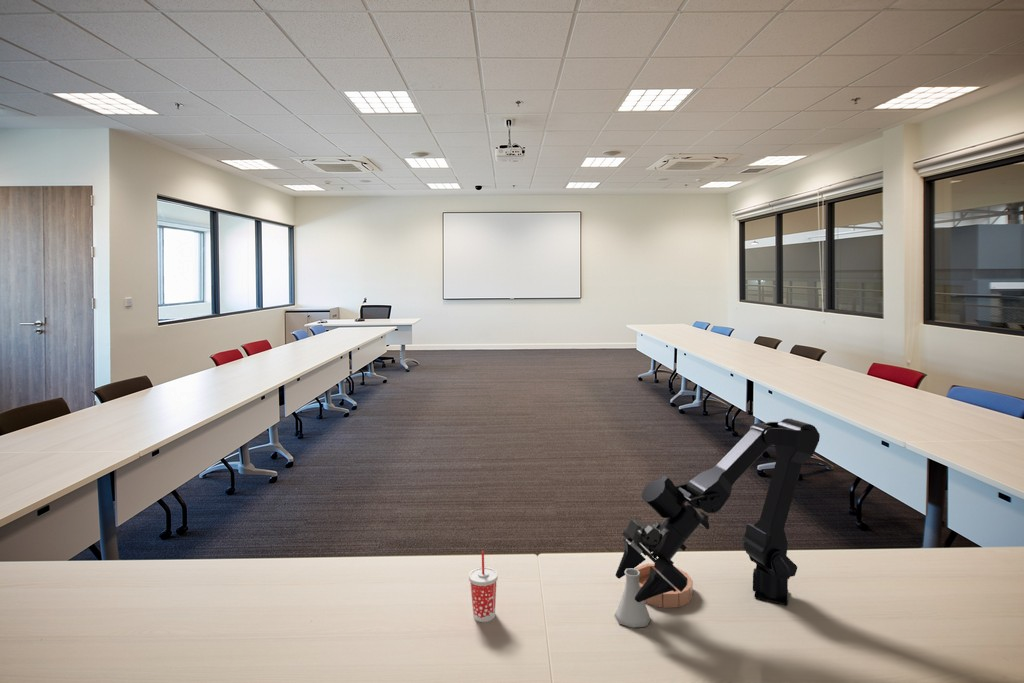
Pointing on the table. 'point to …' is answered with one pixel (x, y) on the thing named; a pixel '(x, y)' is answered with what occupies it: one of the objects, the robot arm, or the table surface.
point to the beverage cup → (483, 592)
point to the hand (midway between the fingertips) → (626, 588)
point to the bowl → (669, 597)
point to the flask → (632, 603)
